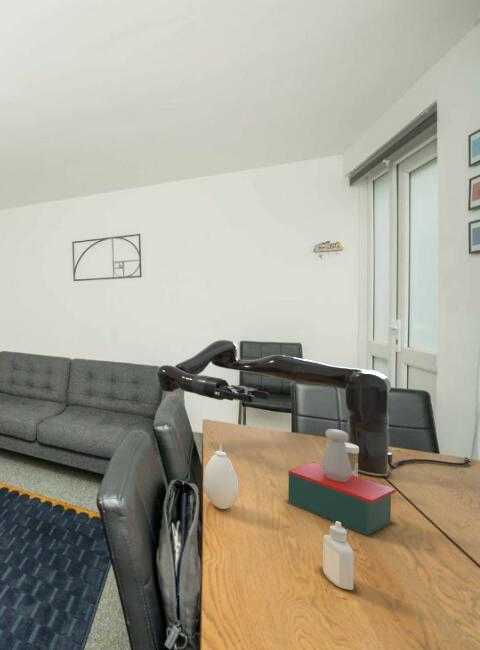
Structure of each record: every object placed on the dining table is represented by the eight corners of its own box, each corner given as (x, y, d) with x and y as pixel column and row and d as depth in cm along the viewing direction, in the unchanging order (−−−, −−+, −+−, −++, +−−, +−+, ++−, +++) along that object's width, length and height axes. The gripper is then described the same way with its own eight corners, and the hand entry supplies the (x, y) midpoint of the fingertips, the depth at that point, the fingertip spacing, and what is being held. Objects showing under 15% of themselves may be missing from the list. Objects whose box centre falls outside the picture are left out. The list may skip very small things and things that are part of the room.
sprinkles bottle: (334, 487, 108) (335, 443, 108) (338, 482, 111) (338, 440, 110) (356, 493, 104) (357, 448, 104) (359, 489, 107) (360, 445, 107)
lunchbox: (390, 522, 91) (391, 490, 91) (366, 535, 86) (367, 501, 86) (312, 492, 105) (312, 465, 105) (288, 502, 100) (288, 473, 100)
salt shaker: (358, 484, 92) (359, 435, 92) (332, 482, 93) (333, 433, 93) (339, 474, 98) (340, 427, 97) (315, 472, 99) (316, 426, 99)
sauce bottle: (231, 501, 101) (232, 439, 100) (243, 517, 93) (243, 450, 93) (200, 497, 103) (200, 436, 103) (208, 512, 96) (208, 446, 96)
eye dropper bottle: (321, 581, 72) (322, 523, 72) (322, 567, 76) (323, 512, 76) (353, 594, 69) (354, 533, 69) (352, 578, 73) (353, 521, 73)
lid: (395, 492, 90) (395, 489, 90) (371, 503, 85) (372, 500, 85) (312, 464, 105) (312, 462, 105) (288, 473, 100) (288, 470, 100)
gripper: (196, 378, 126) (247, 388, 111) (221, 374, 132) (273, 383, 117) (196, 399, 126) (247, 412, 111) (221, 395, 132) (273, 406, 117)
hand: (260, 397), depth 114 cm, fingers open, 8 cm apart
